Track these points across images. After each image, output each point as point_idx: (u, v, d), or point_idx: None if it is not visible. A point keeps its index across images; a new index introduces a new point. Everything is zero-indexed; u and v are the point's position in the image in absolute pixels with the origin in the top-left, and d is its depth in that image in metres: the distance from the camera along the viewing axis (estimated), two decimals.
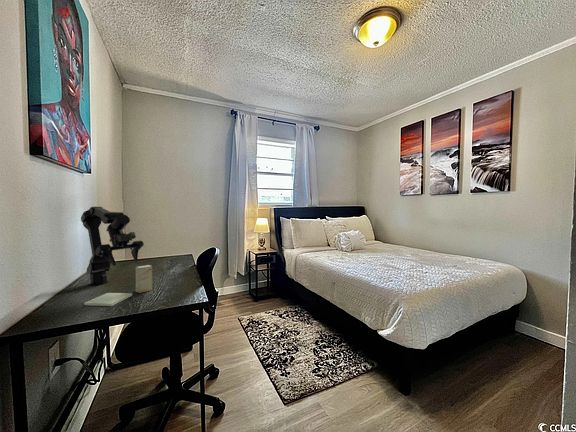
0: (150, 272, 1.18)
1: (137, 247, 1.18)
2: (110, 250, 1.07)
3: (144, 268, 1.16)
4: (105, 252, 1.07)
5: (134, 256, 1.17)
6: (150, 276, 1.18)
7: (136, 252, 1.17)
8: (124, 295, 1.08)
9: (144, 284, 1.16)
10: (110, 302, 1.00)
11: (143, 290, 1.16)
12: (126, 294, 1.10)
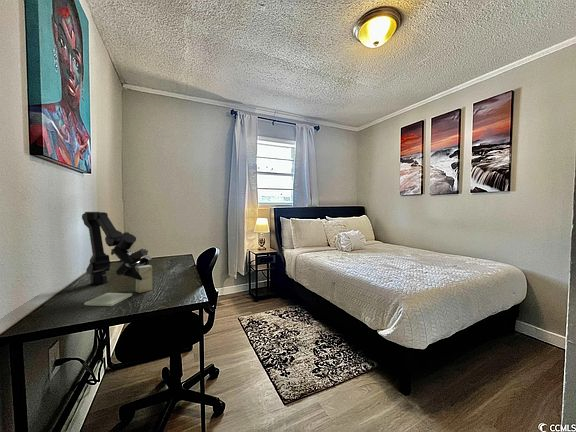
0: (150, 272, 1.18)
1: (147, 262, 1.23)
2: (134, 266, 1.13)
3: (144, 268, 1.16)
4: (130, 269, 1.11)
5: None
6: (150, 276, 1.18)
7: None
8: (124, 295, 1.08)
9: (144, 284, 1.16)
10: (110, 302, 1.00)
11: (143, 290, 1.16)
12: (126, 294, 1.10)
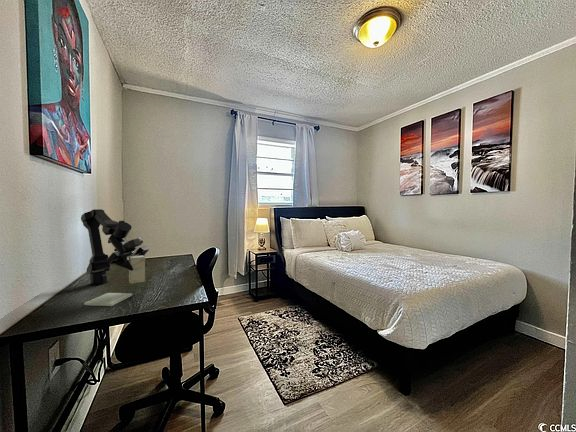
0: (143, 263, 1.14)
1: (143, 252, 1.19)
2: (125, 256, 1.10)
3: (136, 258, 1.12)
4: (121, 258, 1.08)
5: None
6: (143, 267, 1.14)
7: None
8: (124, 295, 1.08)
9: (136, 275, 1.13)
10: (110, 302, 1.00)
11: (135, 281, 1.12)
12: (126, 294, 1.10)
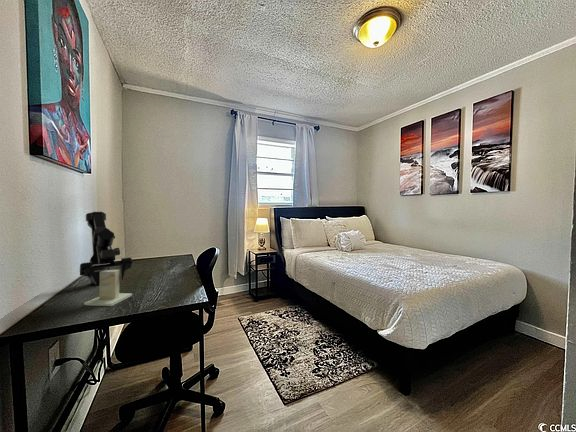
0: (112, 278, 1.04)
1: (124, 264, 1.10)
2: (91, 268, 1.02)
3: (105, 273, 1.03)
4: (87, 270, 1.01)
5: (121, 274, 1.09)
6: (112, 283, 1.04)
7: (123, 269, 1.09)
8: (124, 295, 1.08)
9: (105, 291, 1.03)
10: (110, 302, 1.00)
11: (104, 297, 1.03)
12: (126, 294, 1.10)
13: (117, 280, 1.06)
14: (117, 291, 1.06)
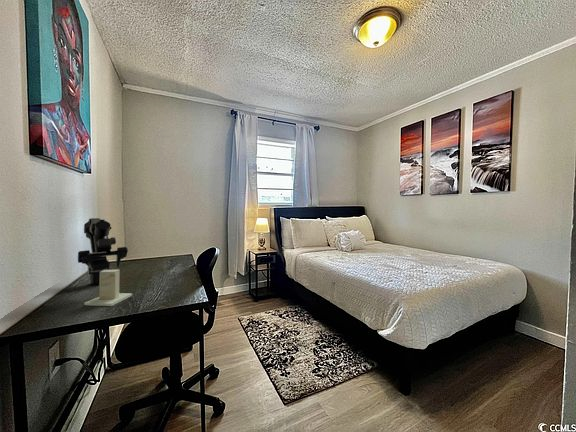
0: (112, 278, 1.04)
1: (119, 253, 1.17)
2: (89, 255, 1.08)
3: (105, 273, 1.03)
4: (84, 258, 1.08)
5: (117, 262, 1.15)
6: (112, 283, 1.04)
7: (118, 258, 1.16)
8: (124, 295, 1.08)
9: (105, 291, 1.03)
10: (110, 302, 1.00)
11: (104, 297, 1.03)
12: (126, 294, 1.10)
13: (117, 280, 1.06)
14: (117, 291, 1.06)
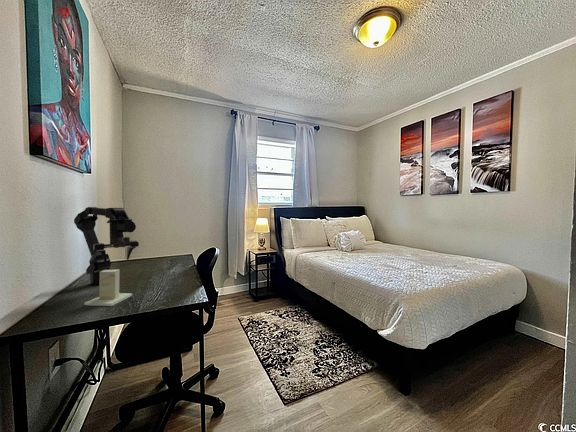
0: (112, 278, 1.04)
1: (131, 248, 1.26)
2: (103, 251, 1.17)
3: (105, 273, 1.03)
4: None
5: (127, 254, 1.27)
6: (112, 283, 1.04)
7: (129, 252, 1.26)
8: (124, 295, 1.08)
9: (105, 291, 1.03)
10: (110, 302, 1.00)
11: (104, 297, 1.03)
12: (126, 294, 1.10)
13: (117, 280, 1.06)
14: (117, 291, 1.06)
